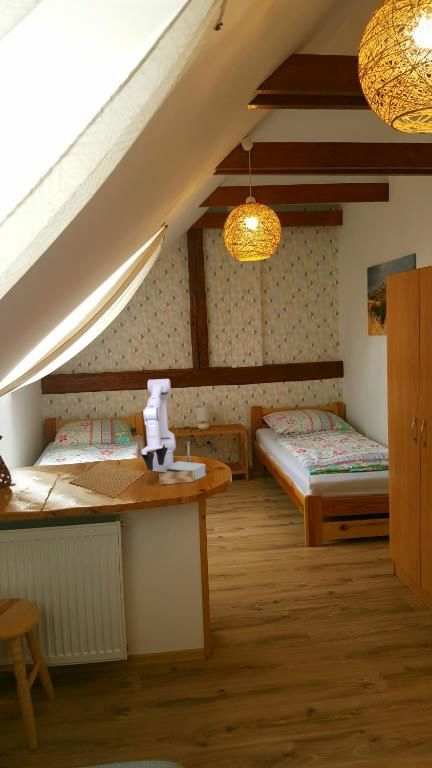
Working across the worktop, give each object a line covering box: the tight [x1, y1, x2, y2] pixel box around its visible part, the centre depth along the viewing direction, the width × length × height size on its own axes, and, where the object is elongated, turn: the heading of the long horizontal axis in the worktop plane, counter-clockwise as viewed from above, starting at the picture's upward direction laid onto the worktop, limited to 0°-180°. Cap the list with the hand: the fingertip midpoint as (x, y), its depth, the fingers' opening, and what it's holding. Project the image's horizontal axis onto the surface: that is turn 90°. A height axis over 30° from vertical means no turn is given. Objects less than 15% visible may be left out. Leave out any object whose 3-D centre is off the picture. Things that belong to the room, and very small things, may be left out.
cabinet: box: [165, 460, 207, 481], centre depth 255 cm, size 15×10×5 cm, turn 59°
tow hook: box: [186, 441, 205, 464], centre depth 270 cm, size 8×13×9 cm
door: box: [158, 470, 196, 486], centre depth 245 cm, size 15×2×5 cm, turn 99°
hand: (155, 467), depth 238 cm, fingers open, 7 cm apart
